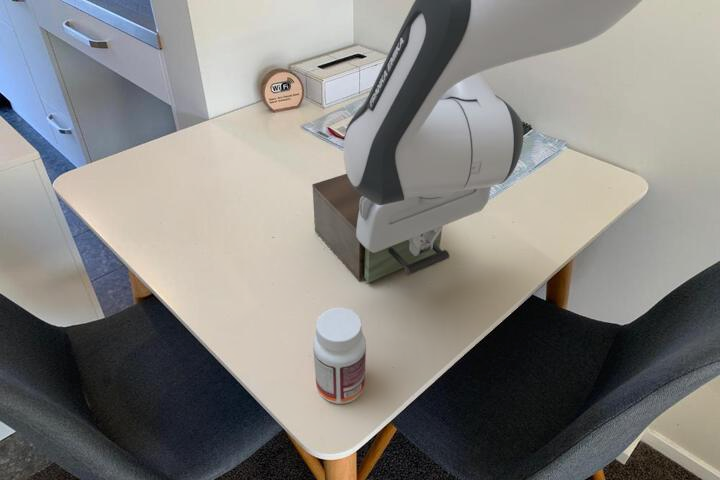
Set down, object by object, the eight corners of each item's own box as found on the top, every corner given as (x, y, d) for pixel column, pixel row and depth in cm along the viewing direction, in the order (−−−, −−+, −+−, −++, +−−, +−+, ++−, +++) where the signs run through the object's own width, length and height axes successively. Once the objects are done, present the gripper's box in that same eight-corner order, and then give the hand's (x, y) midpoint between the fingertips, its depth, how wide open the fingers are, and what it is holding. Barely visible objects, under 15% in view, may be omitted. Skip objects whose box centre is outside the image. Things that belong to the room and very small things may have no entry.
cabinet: (434, 250, 86) (441, 202, 80) (359, 281, 80) (359, 232, 74) (385, 206, 96) (387, 160, 90) (314, 231, 90) (312, 184, 84)
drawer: (461, 273, 80) (469, 234, 75) (389, 306, 75) (392, 265, 70) (391, 211, 93) (394, 173, 88) (325, 234, 87) (324, 196, 82)
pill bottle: (367, 366, 68) (369, 305, 60) (362, 408, 63) (363, 347, 56) (320, 362, 68) (316, 301, 61) (311, 403, 63) (306, 342, 56)
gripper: (374, 204, 60) (371, 289, 69) (505, 158, 69) (487, 240, 77) (347, 178, 64) (347, 262, 73) (473, 138, 73) (460, 218, 82)
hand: (420, 250), depth 75 cm, fingers closed
